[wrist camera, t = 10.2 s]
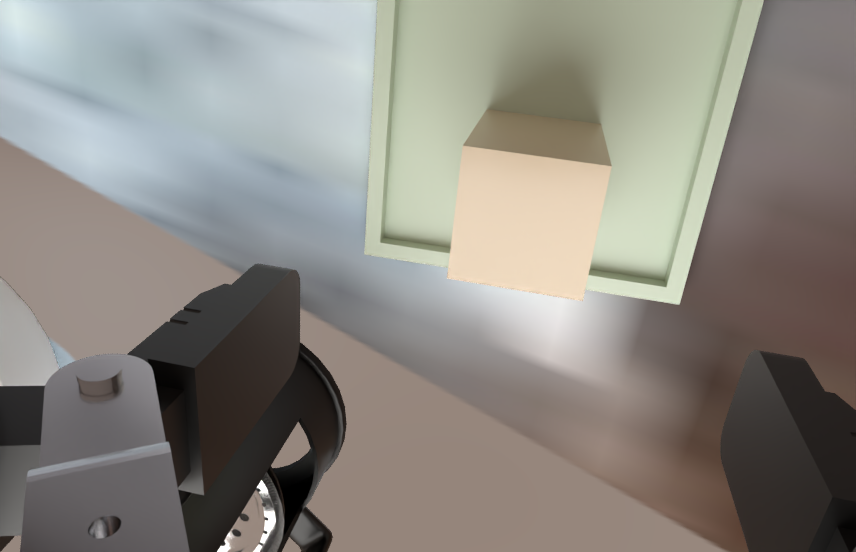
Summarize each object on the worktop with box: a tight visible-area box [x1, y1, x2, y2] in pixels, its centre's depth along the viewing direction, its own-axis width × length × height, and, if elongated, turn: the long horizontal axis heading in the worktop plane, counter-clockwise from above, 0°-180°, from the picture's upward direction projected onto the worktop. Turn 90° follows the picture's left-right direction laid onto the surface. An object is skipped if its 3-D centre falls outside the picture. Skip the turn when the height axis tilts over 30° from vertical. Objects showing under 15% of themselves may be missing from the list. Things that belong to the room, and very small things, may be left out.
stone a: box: [447, 109, 612, 301], centre depth 21 cm, size 4×4×6 cm
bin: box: [364, 0, 764, 304], centre depth 23 cm, size 12×14×1 cm
